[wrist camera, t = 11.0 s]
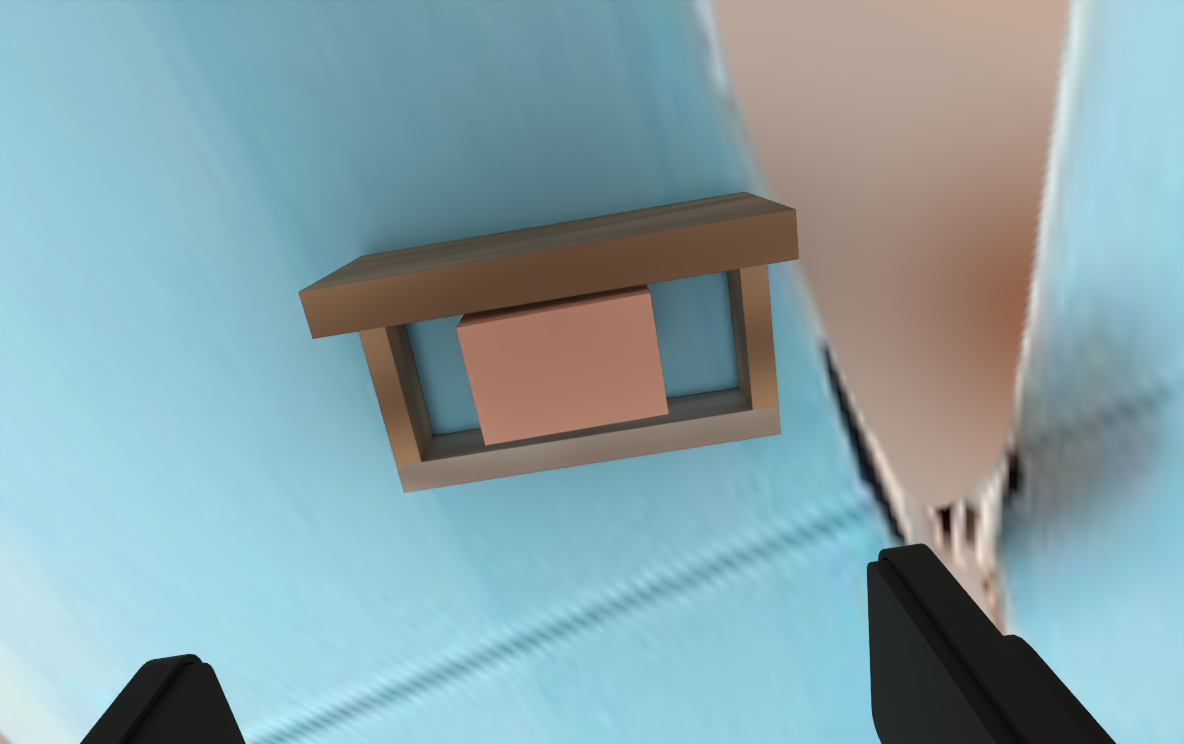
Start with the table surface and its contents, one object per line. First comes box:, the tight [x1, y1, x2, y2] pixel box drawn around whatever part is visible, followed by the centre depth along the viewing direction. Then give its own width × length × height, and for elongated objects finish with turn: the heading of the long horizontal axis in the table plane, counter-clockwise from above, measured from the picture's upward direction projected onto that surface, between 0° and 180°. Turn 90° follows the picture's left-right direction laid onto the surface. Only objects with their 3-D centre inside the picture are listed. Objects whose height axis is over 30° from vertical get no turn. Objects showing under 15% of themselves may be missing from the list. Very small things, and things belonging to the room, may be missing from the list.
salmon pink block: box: [456, 284, 669, 445], centre depth 25 cm, size 5×6×7 cm
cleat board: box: [299, 192, 799, 493], centre depth 26 cm, size 9×15×6 cm, turn 99°
